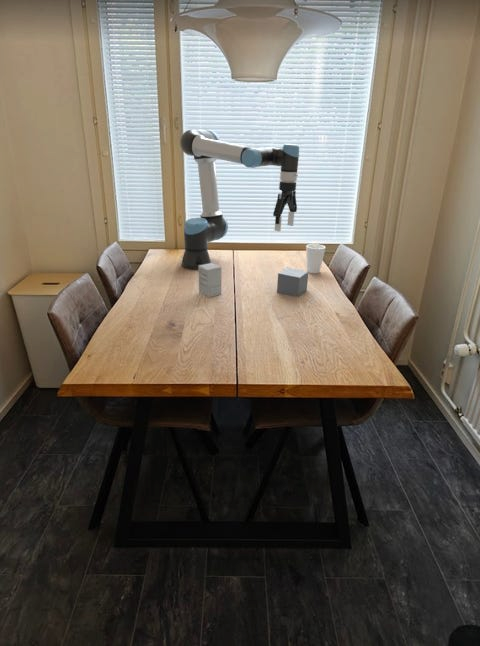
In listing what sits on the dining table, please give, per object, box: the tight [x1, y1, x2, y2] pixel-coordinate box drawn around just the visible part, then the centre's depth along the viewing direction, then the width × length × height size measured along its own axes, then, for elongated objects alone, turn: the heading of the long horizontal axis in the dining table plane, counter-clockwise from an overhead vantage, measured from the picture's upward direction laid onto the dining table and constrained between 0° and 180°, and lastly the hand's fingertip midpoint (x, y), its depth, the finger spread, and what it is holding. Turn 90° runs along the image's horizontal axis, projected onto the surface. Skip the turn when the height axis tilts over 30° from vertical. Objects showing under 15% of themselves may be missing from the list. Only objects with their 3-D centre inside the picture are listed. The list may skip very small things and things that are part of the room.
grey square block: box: [276, 267, 309, 297], centre depth 196 cm, size 10×10×9 cm
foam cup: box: [305, 243, 326, 274], centre depth 222 cm, size 10×9×13 cm
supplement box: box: [198, 262, 222, 298], centre depth 190 cm, size 7×7×13 cm
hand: (284, 228), depth 207 cm, fingers open, 13 cm apart
